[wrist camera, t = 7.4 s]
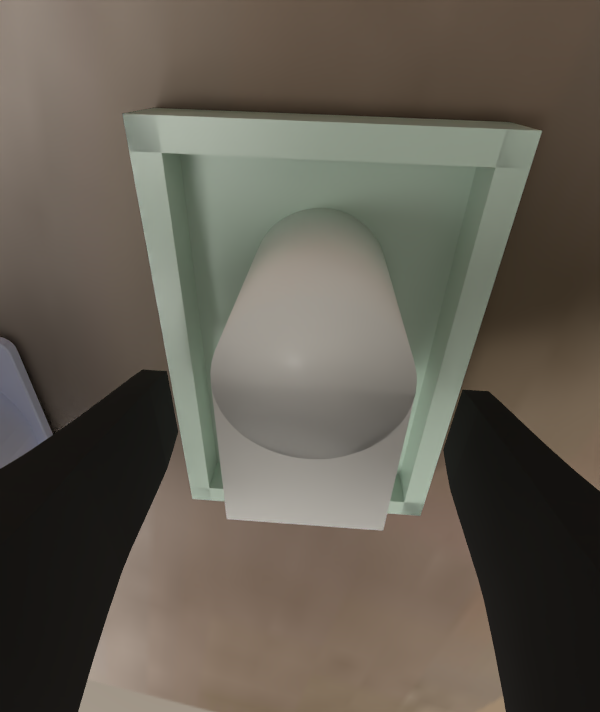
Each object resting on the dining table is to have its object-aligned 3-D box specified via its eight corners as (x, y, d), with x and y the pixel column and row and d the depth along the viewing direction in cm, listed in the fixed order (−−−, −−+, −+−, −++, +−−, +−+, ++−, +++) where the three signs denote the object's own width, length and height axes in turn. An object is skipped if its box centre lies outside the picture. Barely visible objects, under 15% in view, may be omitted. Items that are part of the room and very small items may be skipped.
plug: (360, 436, 15) (372, 576, 11) (260, 429, 15) (232, 566, 11) (395, 211, 10) (437, 301, 6) (251, 204, 10) (200, 289, 6)
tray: (204, 461, 17) (192, 498, 15) (153, 107, 10) (122, 113, 8) (412, 476, 17) (420, 515, 15) (509, 122, 10) (542, 131, 8)
